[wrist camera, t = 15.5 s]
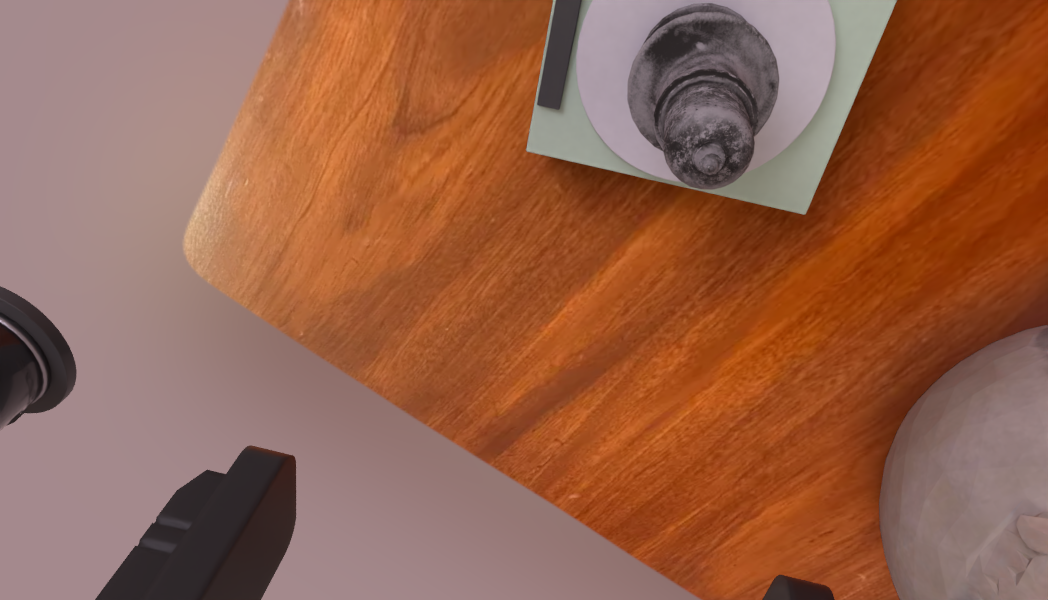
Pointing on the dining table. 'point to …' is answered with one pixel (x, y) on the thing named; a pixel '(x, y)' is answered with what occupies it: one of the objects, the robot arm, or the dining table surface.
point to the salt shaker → (703, 92)
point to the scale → (780, 146)
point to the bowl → (973, 480)
